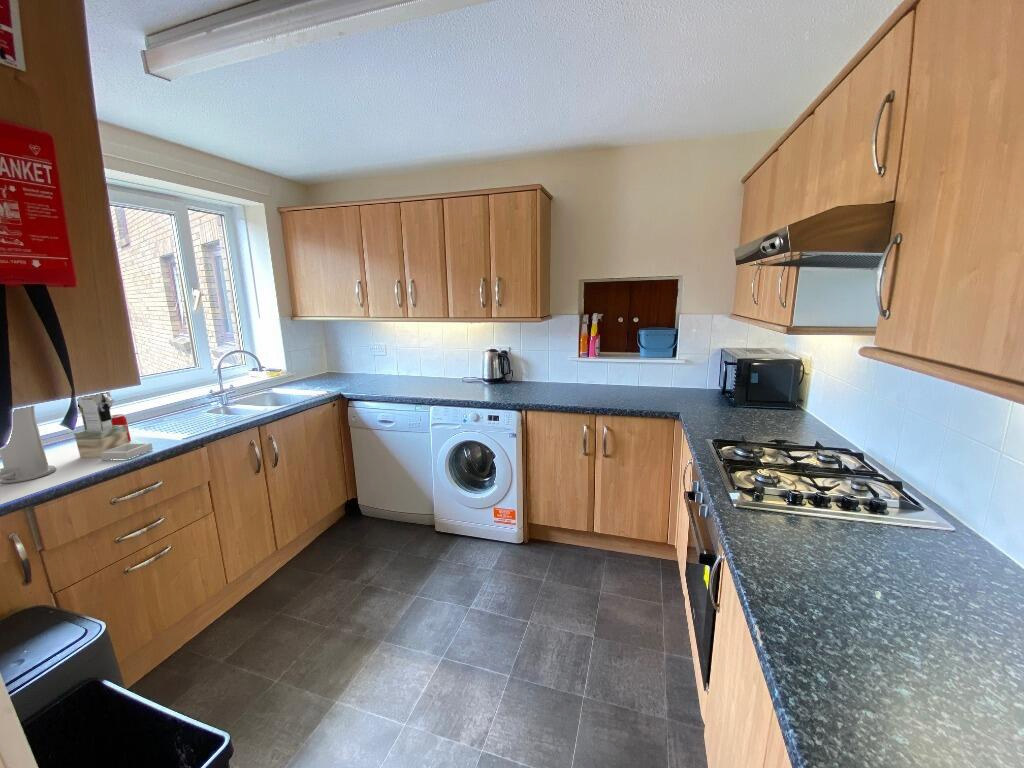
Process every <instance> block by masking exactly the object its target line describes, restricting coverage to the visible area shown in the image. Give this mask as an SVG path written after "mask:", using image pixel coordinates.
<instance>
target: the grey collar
mask: <svg viewBox="0 0 1024 768" xmlns="http://www.w3.org/2000/svg"><path fill="white" fill-rule="evenodd" d="M152 449H154V448H153V444H152V442H134V443H130V442H129V443H127V444H124V445H121V446H118V447H115V448H113V449H110V450H107V451H104V452H101V453H100V454H101V457H100V458H101V461H102V460H106V461H114V460H113V459H129V458H132V457H134V456H137V455H140V454H142V453H145V452H148V451H150V450H152ZM150 452H151V451H150ZM148 453H149V452H148ZM145 454H146V453H145ZM140 456H141V455H140ZM137 457H138V456H137ZM111 459H112V460H111ZM132 459H133V458H132Z"/></svg>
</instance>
